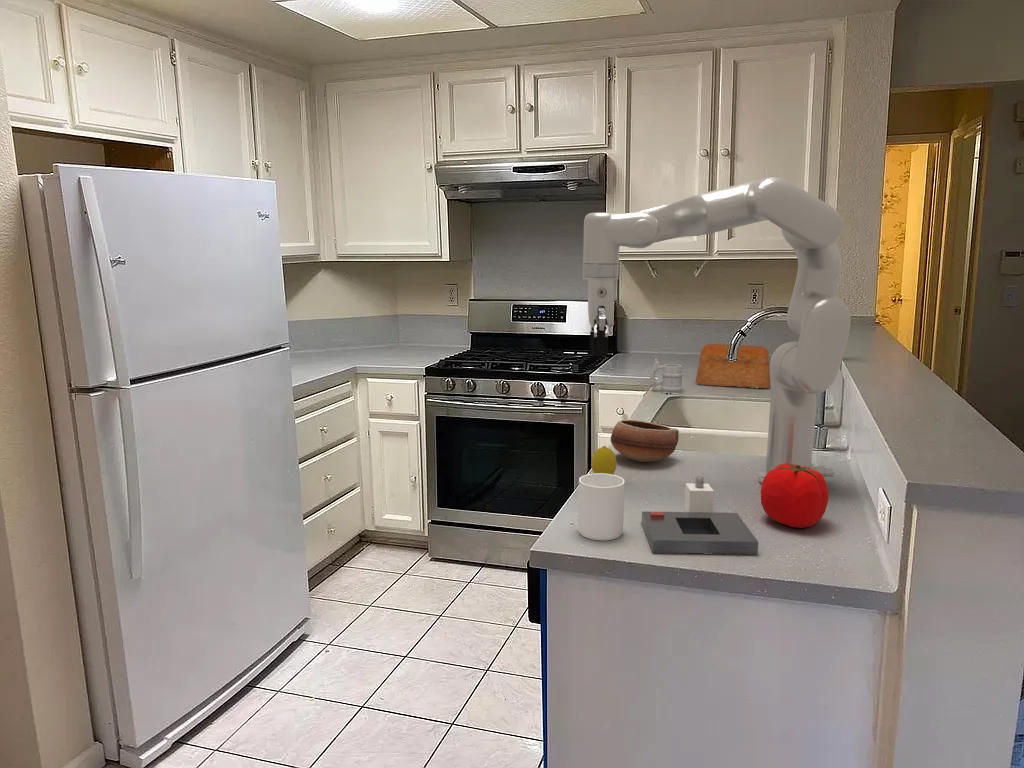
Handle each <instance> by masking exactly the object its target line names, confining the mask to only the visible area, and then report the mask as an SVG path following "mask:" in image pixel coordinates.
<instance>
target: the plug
mask: <svg viewBox="0 0 1024 768" xmlns="http://www.w3.org/2000/svg"><path fill="white" fill-rule="evenodd" d="M684 491H685V492H684V494H685V495H684V508H683V509H684V512H713V505H714V489H713V488H712V487H711V486H710V484H709V483H705V477H704V476H701V475H697V476H695V482H694V483H691V482H690V483H689V482H686V483H685V489H684Z"/></svg>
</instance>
